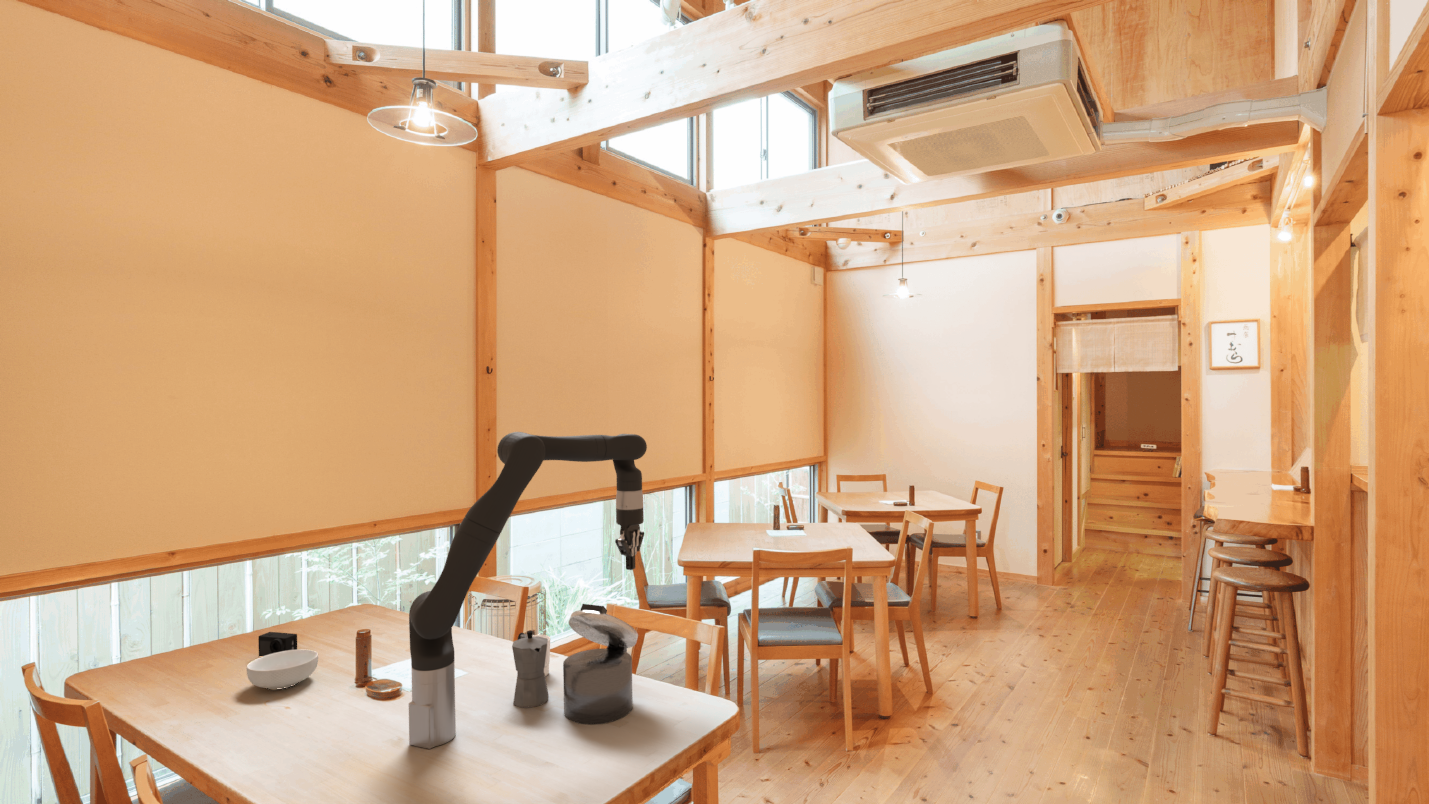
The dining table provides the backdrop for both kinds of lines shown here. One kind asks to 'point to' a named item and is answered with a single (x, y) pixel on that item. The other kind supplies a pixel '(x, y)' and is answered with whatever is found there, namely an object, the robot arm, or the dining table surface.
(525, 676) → the coffeepot
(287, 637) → the digital camera
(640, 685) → the dining table surface
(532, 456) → the robot arm
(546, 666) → the white cup
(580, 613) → the lid
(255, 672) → the cereal bowl
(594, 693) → the pot
